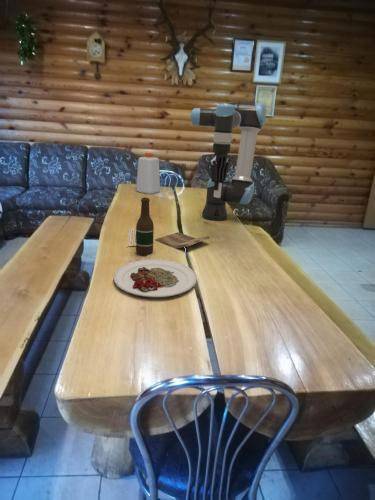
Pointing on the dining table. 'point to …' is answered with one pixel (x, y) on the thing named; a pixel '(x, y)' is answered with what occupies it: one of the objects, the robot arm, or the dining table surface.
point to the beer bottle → (144, 230)
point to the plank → (191, 242)
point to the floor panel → (174, 239)
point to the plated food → (155, 278)
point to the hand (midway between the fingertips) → (217, 197)
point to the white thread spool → (148, 174)
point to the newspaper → (131, 237)
